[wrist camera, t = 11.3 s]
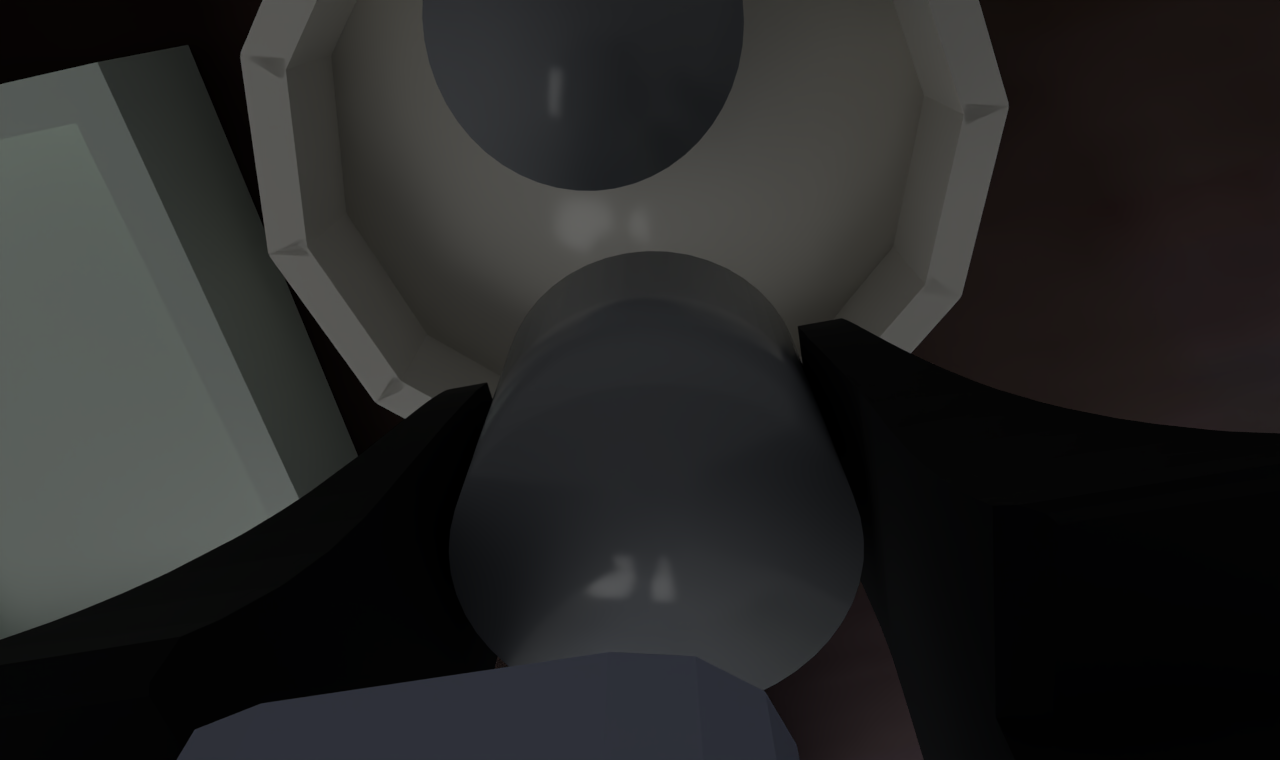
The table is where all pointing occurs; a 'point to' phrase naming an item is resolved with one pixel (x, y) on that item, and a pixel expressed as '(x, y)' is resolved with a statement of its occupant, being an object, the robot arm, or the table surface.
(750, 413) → the pebble
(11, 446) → the parts tray
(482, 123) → the pebble
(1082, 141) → the table surface
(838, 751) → the table surface
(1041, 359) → the table surface
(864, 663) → the table surface
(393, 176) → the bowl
